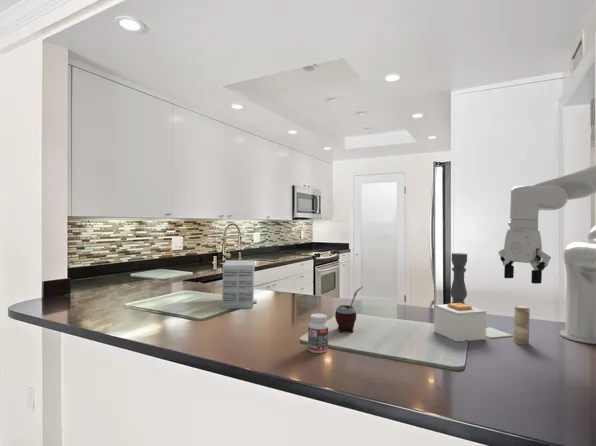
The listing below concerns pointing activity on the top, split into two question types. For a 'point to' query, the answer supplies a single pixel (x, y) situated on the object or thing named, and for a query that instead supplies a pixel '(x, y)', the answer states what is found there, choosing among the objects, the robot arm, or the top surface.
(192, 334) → the top surface
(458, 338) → the box
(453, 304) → the button
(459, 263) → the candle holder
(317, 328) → the pill bottle
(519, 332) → the wooden cylinder
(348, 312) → the mate gourd
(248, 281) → the supplement box
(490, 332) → the pad
